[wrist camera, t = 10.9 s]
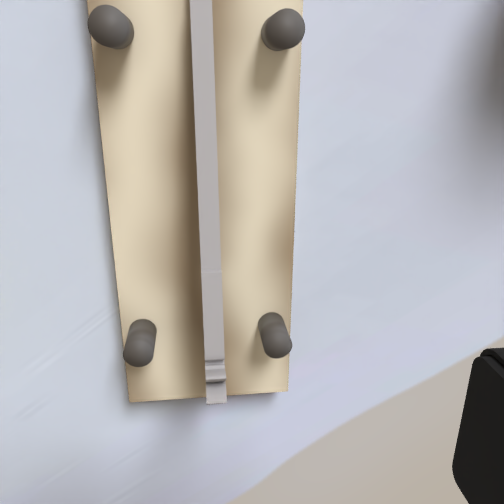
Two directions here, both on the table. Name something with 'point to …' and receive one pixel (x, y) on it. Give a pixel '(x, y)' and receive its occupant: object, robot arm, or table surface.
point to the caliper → (208, 198)
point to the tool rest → (186, 188)
